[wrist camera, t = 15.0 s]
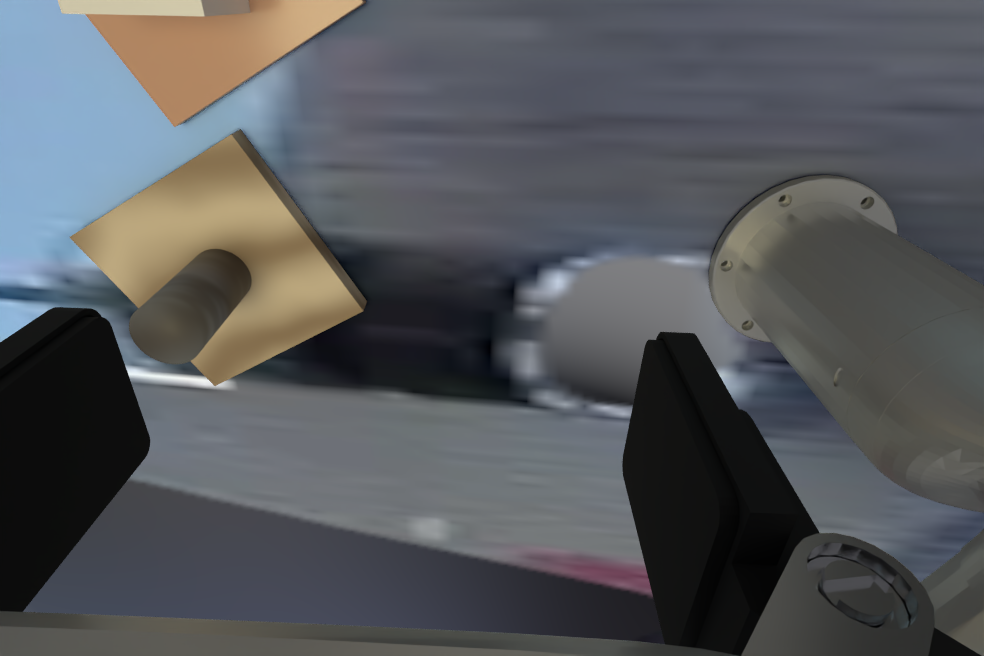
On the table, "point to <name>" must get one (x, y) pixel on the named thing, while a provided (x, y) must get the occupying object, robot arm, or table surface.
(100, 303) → the table surface
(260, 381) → the table surface
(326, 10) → the tile
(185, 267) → the post stand
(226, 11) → the cream rectangular prism
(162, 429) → the table surface
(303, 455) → the table surface
